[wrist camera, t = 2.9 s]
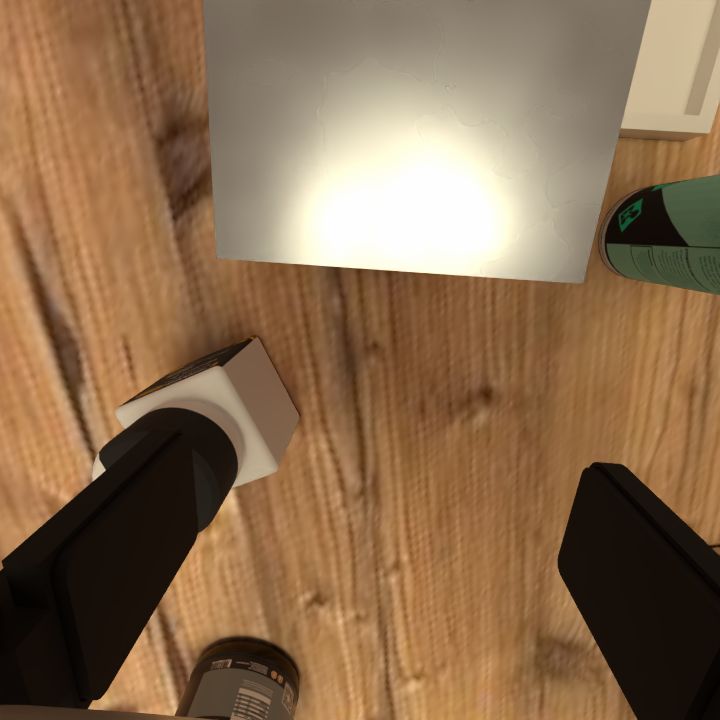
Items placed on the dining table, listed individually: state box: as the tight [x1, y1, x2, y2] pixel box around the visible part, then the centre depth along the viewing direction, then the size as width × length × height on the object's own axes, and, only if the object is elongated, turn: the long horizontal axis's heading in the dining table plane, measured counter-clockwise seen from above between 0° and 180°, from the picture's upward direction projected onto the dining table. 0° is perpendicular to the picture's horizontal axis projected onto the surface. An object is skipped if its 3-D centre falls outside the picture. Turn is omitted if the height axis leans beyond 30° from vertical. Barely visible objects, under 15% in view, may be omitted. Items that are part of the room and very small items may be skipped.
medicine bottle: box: [92, 336, 300, 533], centre depth 23 cm, size 7×7×12 cm
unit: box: [203, 0, 652, 284], centre depth 16 cm, size 9×7×17 cm
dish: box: [619, 0, 720, 141], centre depth 20 cm, size 12×12×2 cm
